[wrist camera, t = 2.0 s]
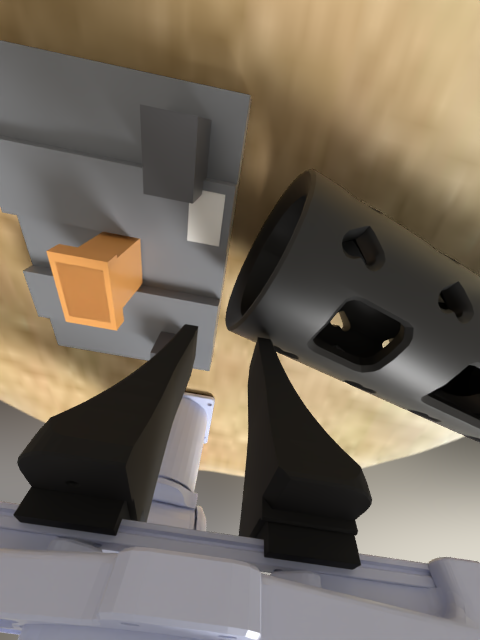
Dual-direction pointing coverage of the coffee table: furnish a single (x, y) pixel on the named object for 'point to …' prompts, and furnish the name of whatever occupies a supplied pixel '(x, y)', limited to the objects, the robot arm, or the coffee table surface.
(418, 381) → the muzzle brake
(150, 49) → the coffee table surface
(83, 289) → the handle
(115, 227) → the box
